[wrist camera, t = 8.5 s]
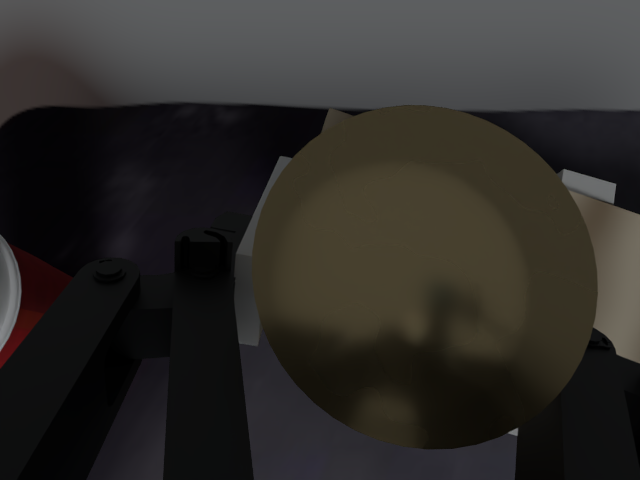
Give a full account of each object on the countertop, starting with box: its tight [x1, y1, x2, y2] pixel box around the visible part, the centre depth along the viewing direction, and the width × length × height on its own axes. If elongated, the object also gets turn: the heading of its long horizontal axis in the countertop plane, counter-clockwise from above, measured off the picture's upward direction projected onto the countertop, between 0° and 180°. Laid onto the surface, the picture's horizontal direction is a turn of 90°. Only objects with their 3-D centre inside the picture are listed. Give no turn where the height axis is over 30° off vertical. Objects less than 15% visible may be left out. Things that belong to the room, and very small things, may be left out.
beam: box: [321, 108, 640, 363], centre depth 25 cm, size 30×10×6 cm, turn 74°
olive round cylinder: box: [252, 105, 598, 449], centre depth 14 cm, size 6×6×12 cm
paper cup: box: [0, 235, 73, 368], centre depth 24 cm, size 8×8×14 cm
